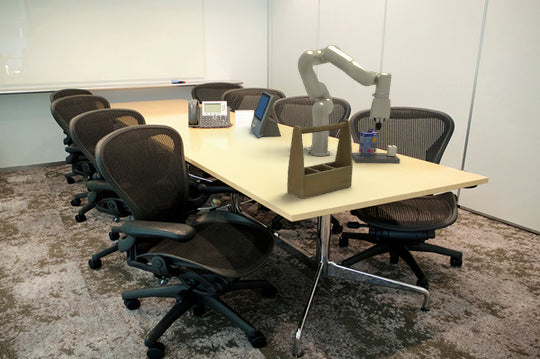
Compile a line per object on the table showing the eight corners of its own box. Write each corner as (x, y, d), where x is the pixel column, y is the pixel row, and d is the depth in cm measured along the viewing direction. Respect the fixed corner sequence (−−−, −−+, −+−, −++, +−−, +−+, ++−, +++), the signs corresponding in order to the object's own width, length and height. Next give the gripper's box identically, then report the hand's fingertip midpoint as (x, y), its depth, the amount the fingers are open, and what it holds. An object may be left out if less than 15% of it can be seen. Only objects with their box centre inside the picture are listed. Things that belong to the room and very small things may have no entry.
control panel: (355, 162, 227) (356, 158, 226) (351, 156, 241) (351, 152, 240) (399, 163, 227) (400, 158, 226) (392, 157, 240) (393, 152, 239)
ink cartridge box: (364, 153, 248) (365, 129, 244) (358, 151, 253) (359, 128, 249) (376, 152, 253) (378, 128, 248) (370, 150, 257) (372, 127, 253)
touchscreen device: (248, 129, 322) (249, 90, 314) (273, 129, 326) (274, 91, 317) (255, 138, 289) (256, 95, 281) (282, 138, 293) (285, 95, 285)
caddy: (302, 199, 170) (304, 127, 162) (286, 192, 179) (287, 123, 170) (351, 186, 187) (356, 120, 178) (335, 181, 195) (338, 117, 186)
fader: (388, 155, 230) (389, 146, 229) (386, 154, 235) (387, 145, 233) (396, 155, 230) (396, 147, 229) (393, 154, 235) (394, 145, 233)
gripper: (369, 96, 220) (365, 130, 225) (397, 97, 220) (393, 131, 225) (366, 94, 227) (363, 128, 232) (393, 95, 227) (389, 129, 232)
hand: (377, 129), depth 229 cm, fingers closed
